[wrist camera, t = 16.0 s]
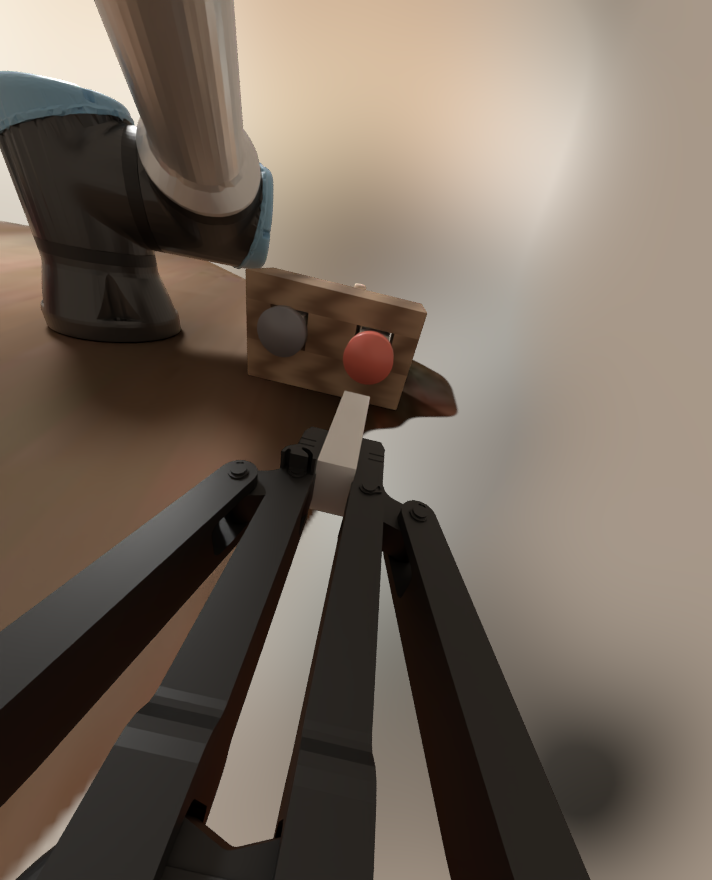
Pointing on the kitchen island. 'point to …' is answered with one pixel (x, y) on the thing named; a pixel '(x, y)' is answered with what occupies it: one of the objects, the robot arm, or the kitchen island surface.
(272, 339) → the graphite plug
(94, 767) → the kitchen island surface
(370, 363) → the red plug
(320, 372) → the walnut plug block
